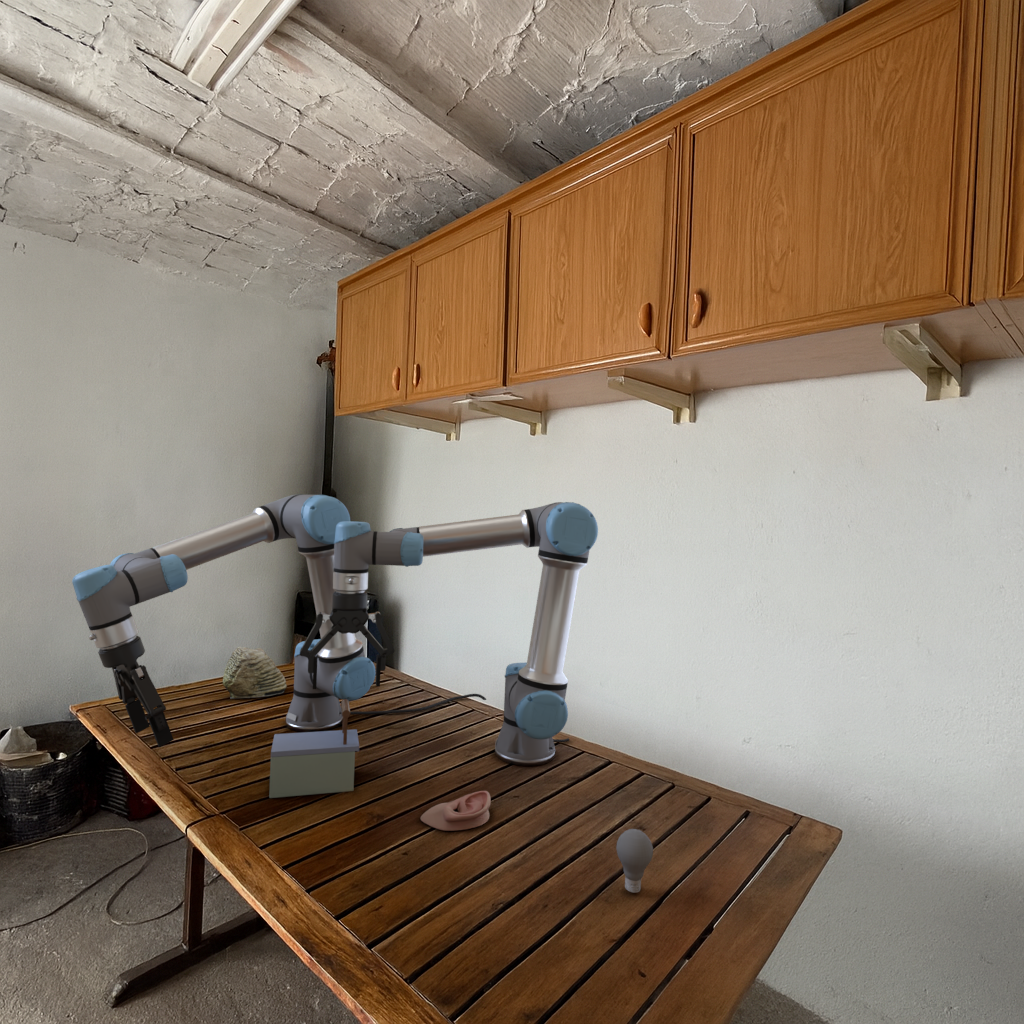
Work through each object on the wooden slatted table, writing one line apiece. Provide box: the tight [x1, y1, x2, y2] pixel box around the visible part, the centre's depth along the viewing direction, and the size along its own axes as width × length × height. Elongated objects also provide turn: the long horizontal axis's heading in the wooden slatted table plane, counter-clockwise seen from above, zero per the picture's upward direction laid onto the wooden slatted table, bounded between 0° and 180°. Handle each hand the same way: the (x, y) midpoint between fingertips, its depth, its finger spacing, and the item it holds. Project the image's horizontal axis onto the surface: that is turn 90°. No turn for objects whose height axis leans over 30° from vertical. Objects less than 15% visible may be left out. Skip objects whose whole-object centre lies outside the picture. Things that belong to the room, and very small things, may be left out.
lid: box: [270, 699, 360, 758], centre depth 139 cm, size 18×10×9 cm, turn 107°
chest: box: [268, 751, 356, 799], centre depth 139 cm, size 17×10×9 cm, turn 107°
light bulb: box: [615, 828, 654, 894], centre depth 106 cm, size 6×6×10 cm
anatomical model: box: [419, 790, 492, 832], centre depth 127 cm, size 13×4×12 cm
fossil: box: [222, 646, 288, 699], centre depth 198 cm, size 9×18×15 cm, turn 132°
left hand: (154, 736), depth 131 cm, fingers open, 13 cm apart
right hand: (346, 686), depth 141 cm, fingers open, 13 cm apart
